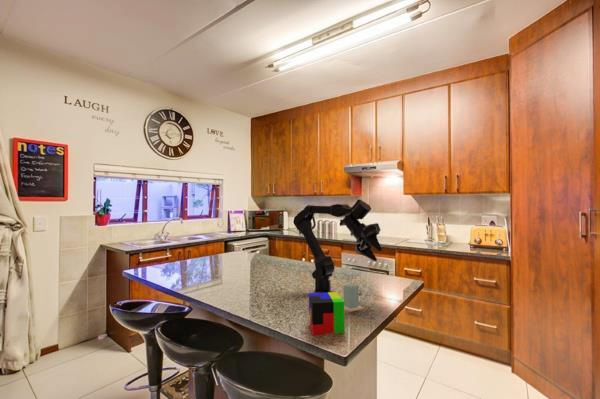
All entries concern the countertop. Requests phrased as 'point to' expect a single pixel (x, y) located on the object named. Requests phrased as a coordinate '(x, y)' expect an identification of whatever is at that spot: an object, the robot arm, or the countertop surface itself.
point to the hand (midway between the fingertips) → (378, 256)
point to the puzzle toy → (326, 313)
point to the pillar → (351, 297)
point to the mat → (352, 311)
